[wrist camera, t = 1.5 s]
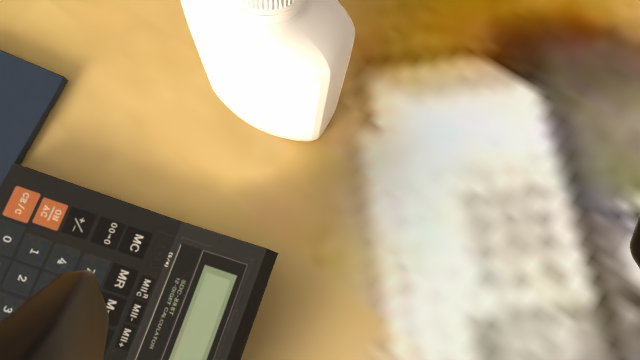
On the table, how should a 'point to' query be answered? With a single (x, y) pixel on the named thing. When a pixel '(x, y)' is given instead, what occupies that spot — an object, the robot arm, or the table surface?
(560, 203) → the table surface
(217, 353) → the calculator
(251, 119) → the eye dropper bottle
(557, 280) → the table surface
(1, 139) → the placemat
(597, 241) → the table surface
